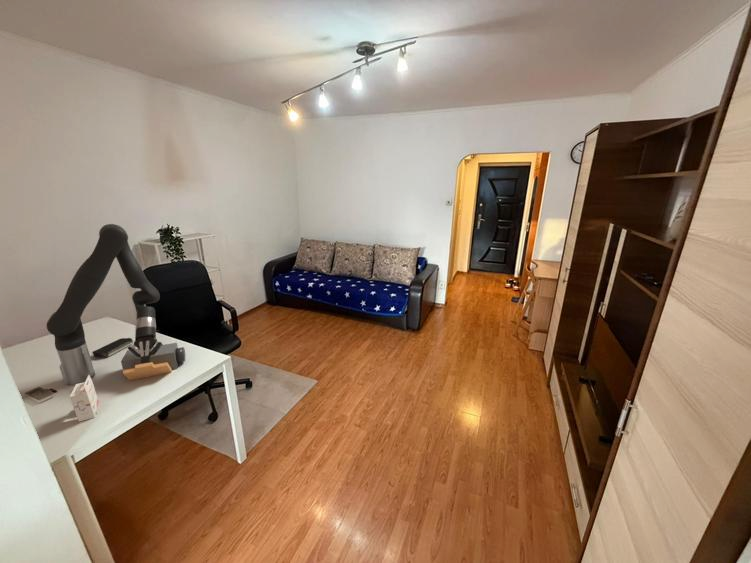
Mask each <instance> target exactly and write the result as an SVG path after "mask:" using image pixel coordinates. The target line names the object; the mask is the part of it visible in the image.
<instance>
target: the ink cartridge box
mask: <svg viewBox="0 0 751 563" xmlns="http://www.w3.org/2000/svg"><path fill="white" fill-rule="evenodd" d="M71 391H72V392H71V393H70V395H69V399H70V402H71V405H72V406H73V410H74V413H75V415H76V418H77V421H78V423H79V422H82V421H86V420H90V419H93V418H95V417H96V415H97V410H98V406H99V403H100V402H99V399H98V394H97V393H96V392H97V391H96V388H95V385H94V383H93V379H91V378H90V376H89V375H88V377H87V379H86V381H85V382H84V383H80V384H76V385H75V386H74V387H73V389H72V390H71Z"/></svg>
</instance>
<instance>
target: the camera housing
mask: <svg viewBox="0 0 751 563" xmlns="http://www.w3.org/2000/svg"><path fill="white" fill-rule="evenodd" d="M154 347H155V345H154V346H153V348H154ZM153 348H151V351H152V350H153ZM135 351H136V352H137V353H139V354H140V350H139V349H138V348H136V349H135ZM145 351H146V350H145ZM120 362H121V367H122V371H123V370H127V369H133V368H135V365H139V364H141V357H137V356H136V355H134V354H133V353H132V352H131V351H130V350H129V349H126V352H125V354H124V355H123V357H122V359H121V360H120ZM150 362H152V363H153V364H154V365H155V364H161V363H166V362H167V363H168V364H169V366H170V367H171V369H172V371H173V370H178V366H179V363H182V362H186V349H185V347H184V346H182V347H178V342H173V343H166V344H163V345H162V346H161V347H160V348H159V350H158V351H157V352H156V353H155V354H154V355H151V356H150ZM124 379H128V378H127V377H126V376H125V375H124Z"/></svg>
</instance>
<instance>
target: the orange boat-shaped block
mask: <svg viewBox="0 0 751 563" xmlns="http://www.w3.org/2000/svg"><path fill="white" fill-rule="evenodd" d="M172 371H173V370H172V369H171V367H170V366H169V364H168V363H167V362H166V363H161V364H155V365H154V364H153V363H152V362H150V363H144V364H139V365H135V368H133V369H127V370H123V369H122V374H123V375H124V377H125V376H126V377H127V378H126V379H128V380H129V381H132V380H137V379H142V378H143V379H144V378H148V377H153V376H154V377H155V376H160V375H163V374H168V373H172Z"/></svg>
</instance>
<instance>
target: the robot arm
mask: <svg viewBox="0 0 751 563" xmlns="http://www.w3.org/2000/svg"><path fill="white" fill-rule="evenodd" d="M98 232H99V233H98V236H99V237H98V240H97V243H96V246H95V247H94V249H93V251H92V253H91V254H90V256H89V257H87V259H86V260H84V262H83V263H82V264H81V265H80V267H79V268H78V269H77V270H76V272H75V274H74V275H73V277H72V279H71V281H70V283H69V286H68V288H67V289H66V292H65V295H64V298H63V300H62V302H61V304H60V305H59V307H58V308H57V309H56V311H55V312H53V313H52V314H51V315H50V317H49V319H48V320H47V322H46V329H47V332H48V333H49V334H51V335H52V336H53V337H54V346H55V349H56V352H57V355H58V358H59V361H60V364H59V370H60V373H61V375H62V379H63V382H64V384H65V385H66V386H67V385H71V386H73V385H76V384H80V383H84V382H85V381H86V379H87V377H88V375H89V376H90V378H91V380H93V378H94V377H95V376H96V372H95V368H94V365H93V362H92V361H93V360H92V359H91V355H90V352H89V351H90V350H89V348H88V344H87V341H86V336H85V335H86V334H85V330H84V327H83V322H82V318H81V317H82V315H83V313H84V311H85V309H86V307H87V306H88V305H89V304H90V302H91V301H92V300H93V299H94V297H95V296H96V294H98V291H99V290H100V288H101V286H102V285H103V283H104V282H105V279H106V277H107V276H108V274H109V271H110V269H111V268H112V264H113V262H114V261H115V259H116V261H117V262H118V265H119V267H120V268H121V271H122V274H123V275H124V278H125V279H126V281H127V283H128V284H129V287H130V288H132V289H140V290H137V291H135V292H134V293H133V294H132V296H131V298H132V302H133V305H134V307H135V311H136V320H135V335H134V336H135V337H134V338H135V339H134V341H133V344H131V345H130V346H128V347H127V350H130V351H131V352H132V353H133V354H134V355H136V356H137V357H141V364H144V363H150V356H151V355H154V354H155V353H156V352H157V351H158V350H159V348H160V347H161V346H162V345H164V344H163V343H162V342H161V341H158V339H157V323H156V309H155V307H153V306H148V304H154V303H157V302H158V301H160V297H161V296H160V295H161V294H160V292H159V290H158V289H157V288H156V287H155V286H154V285H153V284H152V283H151V282H150V281H149V280H148V278H147V276H146V275H145V273H144V271H143V268H142V267H141V266H140V264H139V262H138V261H137V259H136V257H135V255H134V253H133V252H132V250H131V248H130V244H129V241H128V240H129V235H128V233H127V231H126V230H125V229H124V228H123V227H122V226H120V225H118V224H114V223H109V224H105V225H103V226H102V227H101V228H100V229H99V231H98ZM146 305H147V306H146ZM153 346H155V347H154V348H153ZM151 348H153V350H152V351H151ZM135 349H139V350H140V354H139V353H137V352H136V351H135ZM145 350H146V351H145ZM65 385H64V386H65Z"/></svg>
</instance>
